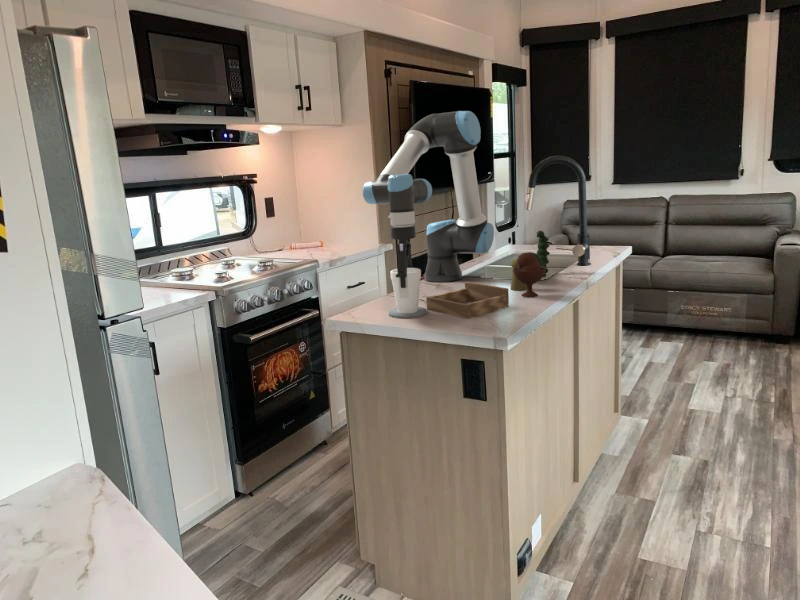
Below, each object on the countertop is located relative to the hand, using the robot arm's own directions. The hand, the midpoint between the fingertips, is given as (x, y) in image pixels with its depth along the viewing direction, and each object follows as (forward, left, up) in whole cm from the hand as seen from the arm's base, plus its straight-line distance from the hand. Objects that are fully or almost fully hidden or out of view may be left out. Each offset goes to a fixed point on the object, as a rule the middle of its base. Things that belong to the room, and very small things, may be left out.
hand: (406, 293), depth 195 cm
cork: (-48, +4, -7) cm, 49 cm away
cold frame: (-16, +10, -7) cm, 20 cm away
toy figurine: (-66, -4, -7) cm, 66 cm away
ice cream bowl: (-42, +14, -7) cm, 45 cm away
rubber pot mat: (0, 0, -7) cm, 7 cm away
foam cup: (0, 0, -6) cm, 6 cm away
